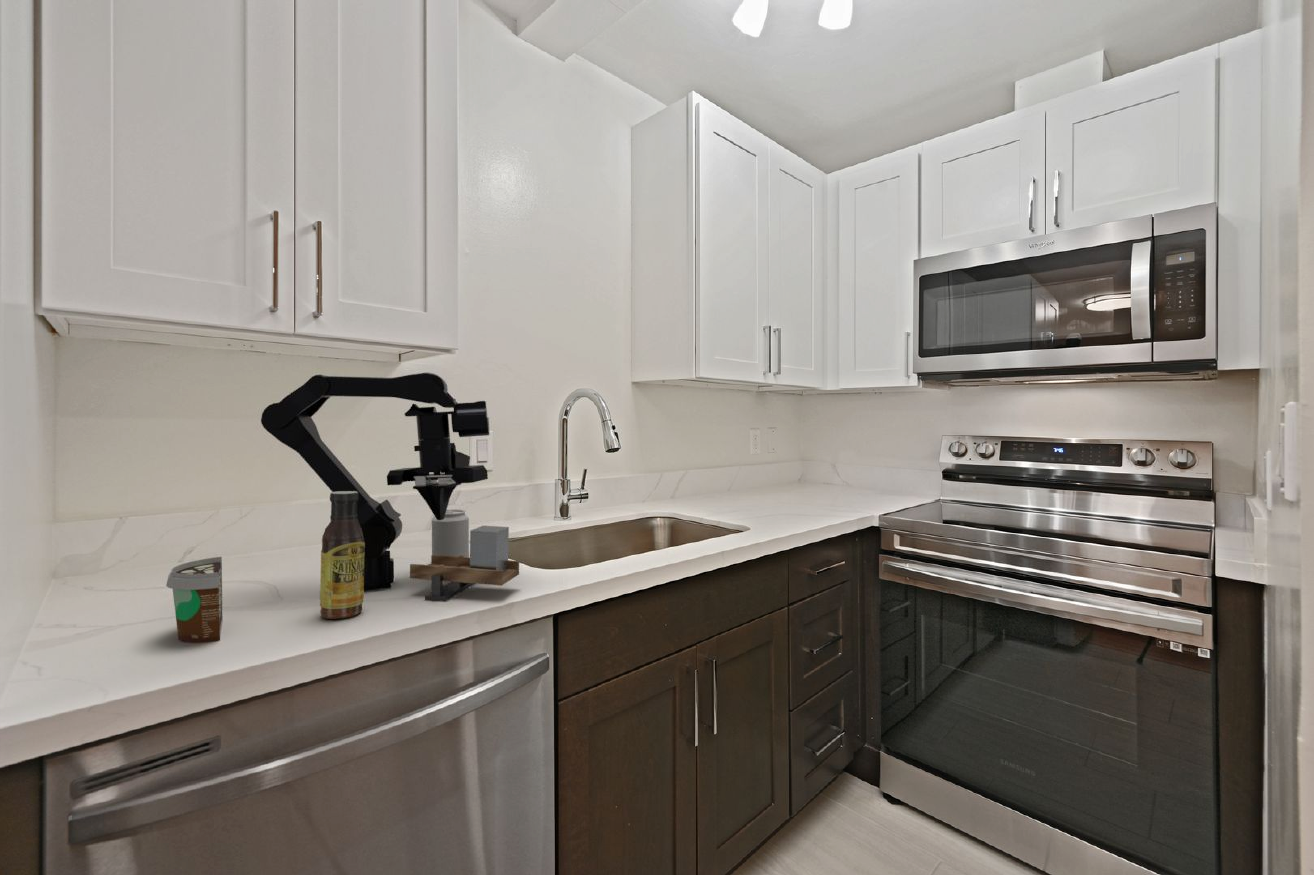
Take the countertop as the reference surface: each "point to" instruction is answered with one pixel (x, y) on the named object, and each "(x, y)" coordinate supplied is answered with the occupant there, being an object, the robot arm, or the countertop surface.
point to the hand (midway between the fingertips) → (440, 519)
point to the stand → (445, 589)
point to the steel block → (489, 548)
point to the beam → (462, 571)
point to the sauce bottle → (342, 559)
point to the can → (451, 534)
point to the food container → (198, 599)
